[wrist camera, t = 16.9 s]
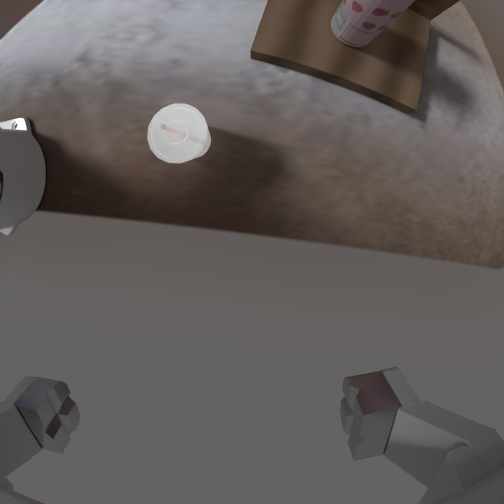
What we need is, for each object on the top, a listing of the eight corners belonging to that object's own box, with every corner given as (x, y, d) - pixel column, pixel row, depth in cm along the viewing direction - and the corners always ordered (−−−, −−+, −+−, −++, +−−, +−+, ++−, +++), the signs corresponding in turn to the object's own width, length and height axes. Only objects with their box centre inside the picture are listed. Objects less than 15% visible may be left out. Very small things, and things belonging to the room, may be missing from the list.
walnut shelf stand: (250, 58, 34) (251, 22, 24) (282, -32, 30) (290, -77, 20) (406, 113, 36) (450, 101, 25) (421, 21, 32) (459, -6, 21)
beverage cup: (183, 173, 38) (149, 176, 25) (160, 133, 37) (117, 118, 23) (225, 148, 38) (213, 138, 24) (202, 108, 36) (178, 78, 23)
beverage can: (368, 54, 31) (424, 7, 17) (325, 38, 31) (364, -23, 16) (375, 22, 30) (428, -31, 15) (335, 5, 30) (372, -58, 15)
